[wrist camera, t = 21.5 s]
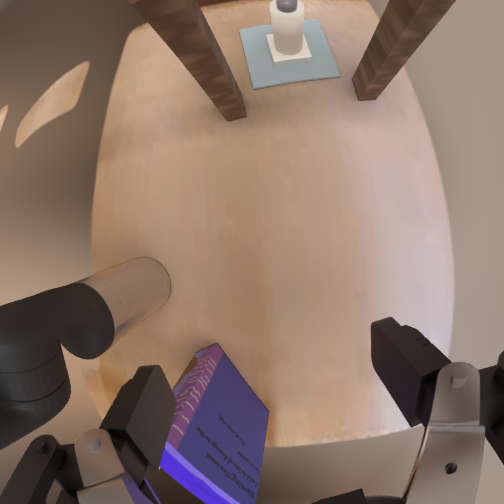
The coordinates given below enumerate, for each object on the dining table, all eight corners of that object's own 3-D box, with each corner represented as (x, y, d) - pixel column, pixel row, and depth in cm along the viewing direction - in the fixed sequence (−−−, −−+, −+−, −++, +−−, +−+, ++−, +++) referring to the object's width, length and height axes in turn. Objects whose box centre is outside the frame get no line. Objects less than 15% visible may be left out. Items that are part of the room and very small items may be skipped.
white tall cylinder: (274, 66, 37) (267, 18, 24) (266, 39, 36) (257, -11, 23) (311, 61, 36) (317, 12, 23) (301, 34, 36) (303, -16, 22)
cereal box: (196, 352, 47) (135, 445, 24) (217, 342, 46) (164, 440, 23) (247, 418, 48) (224, 517, 25) (269, 411, 47) (253, 514, 24)
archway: (227, 121, 40) (109, -19, 8) (223, 99, 40) (115, -47, 7) (375, 99, 37) (482, -33, 4) (368, 78, 36) (453, -63, 4)
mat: (253, 89, 39) (253, 88, 38) (239, 31, 37) (238, 30, 37) (339, 77, 37) (340, 76, 36) (317, 20, 35) (318, 18, 34)
